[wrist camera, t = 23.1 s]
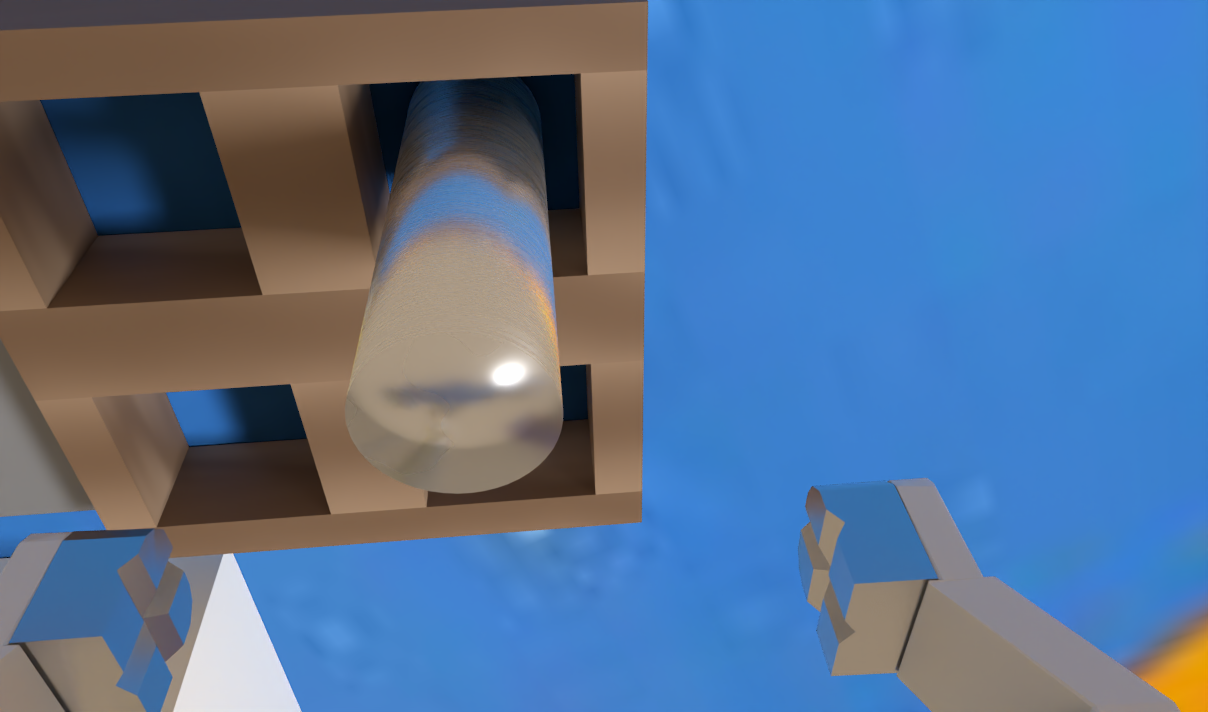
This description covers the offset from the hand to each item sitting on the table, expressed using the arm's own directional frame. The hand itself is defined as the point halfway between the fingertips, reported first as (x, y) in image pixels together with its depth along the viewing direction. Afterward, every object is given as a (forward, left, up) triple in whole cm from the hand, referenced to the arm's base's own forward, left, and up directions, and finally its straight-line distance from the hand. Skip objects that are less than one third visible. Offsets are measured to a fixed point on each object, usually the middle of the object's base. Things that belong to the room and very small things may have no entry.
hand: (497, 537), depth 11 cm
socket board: (-3, +4, -12) cm, 13 cm away
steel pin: (+1, +1, -12) cm, 12 cm away
